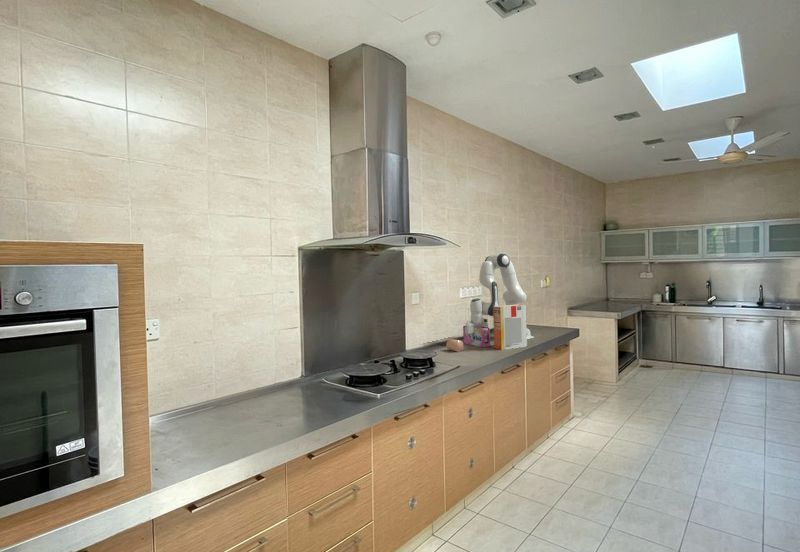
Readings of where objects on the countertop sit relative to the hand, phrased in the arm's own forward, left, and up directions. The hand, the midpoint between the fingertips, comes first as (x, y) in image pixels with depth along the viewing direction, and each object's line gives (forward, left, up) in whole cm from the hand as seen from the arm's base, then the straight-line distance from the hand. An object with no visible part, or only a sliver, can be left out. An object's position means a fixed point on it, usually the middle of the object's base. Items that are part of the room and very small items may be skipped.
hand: (477, 338), depth 322 cm
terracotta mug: (+27, +3, -1) cm, 27 cm away
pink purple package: (0, -1, -5) cm, 5 cm away
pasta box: (-11, +24, -5) cm, 26 cm away
